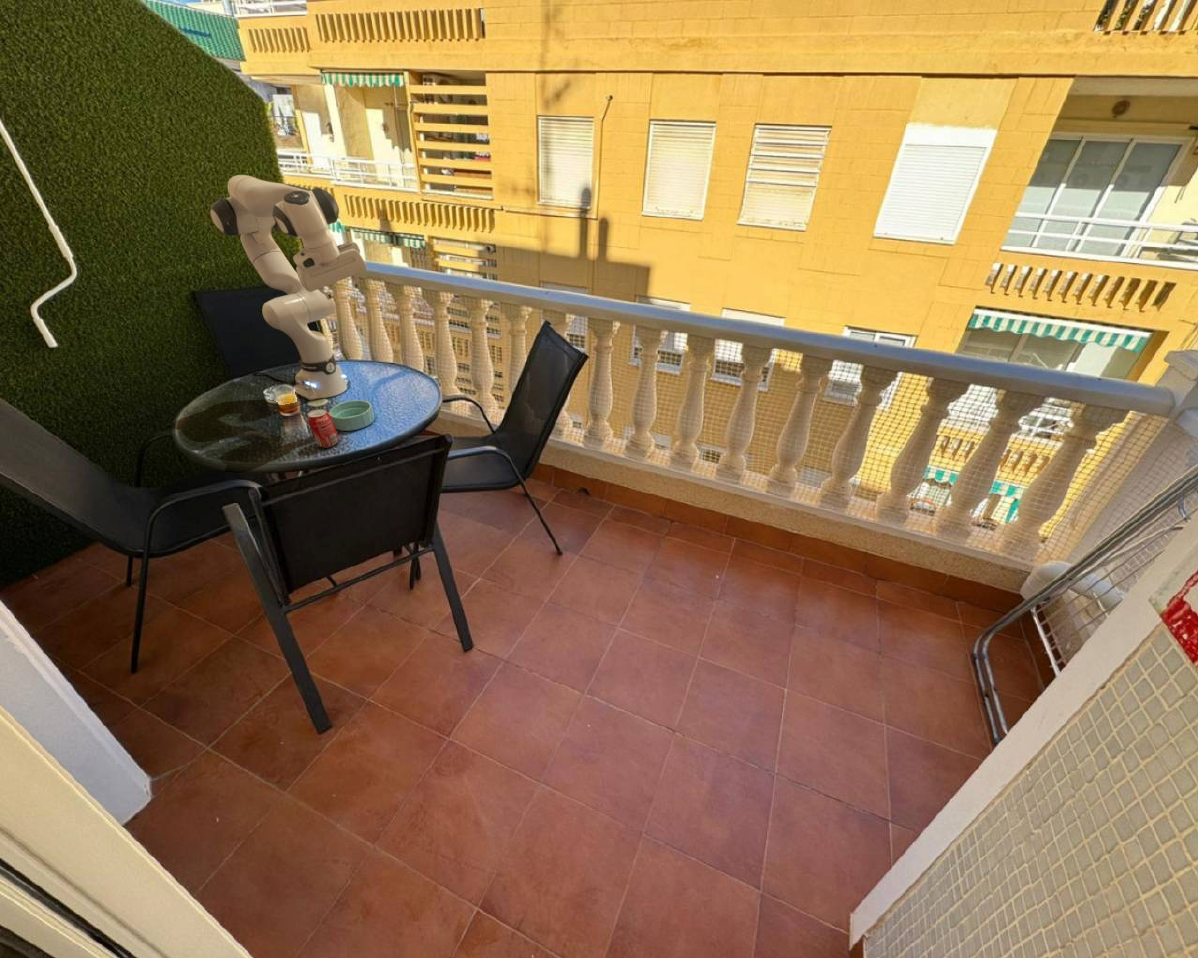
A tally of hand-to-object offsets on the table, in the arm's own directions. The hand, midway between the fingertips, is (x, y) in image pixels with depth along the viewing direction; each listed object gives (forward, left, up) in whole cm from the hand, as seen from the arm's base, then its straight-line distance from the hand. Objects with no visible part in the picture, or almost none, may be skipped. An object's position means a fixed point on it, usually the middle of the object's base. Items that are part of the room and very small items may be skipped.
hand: (343, 292), depth 164 cm
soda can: (+1, -24, -45) cm, 51 cm away
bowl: (-3, -9, -45) cm, 46 cm away
